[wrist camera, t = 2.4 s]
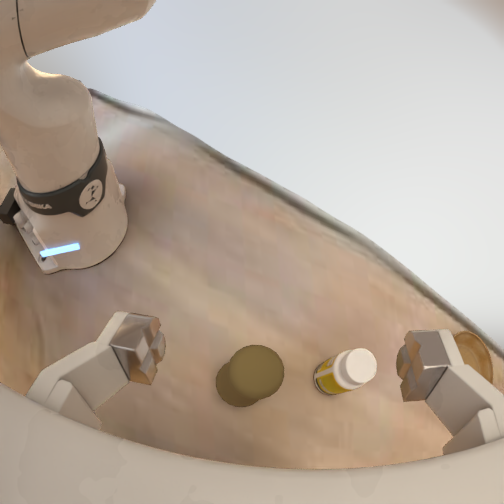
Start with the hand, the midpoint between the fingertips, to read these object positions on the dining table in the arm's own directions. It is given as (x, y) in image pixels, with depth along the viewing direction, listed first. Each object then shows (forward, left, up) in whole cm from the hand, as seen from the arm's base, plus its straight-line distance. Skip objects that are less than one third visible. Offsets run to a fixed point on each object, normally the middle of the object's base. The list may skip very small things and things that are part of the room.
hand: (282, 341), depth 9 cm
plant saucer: (+36, +19, -28) cm, 49 cm away
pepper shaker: (+2, +3, -28) cm, 28 cm away
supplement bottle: (+12, +9, -28) cm, 32 cm away
